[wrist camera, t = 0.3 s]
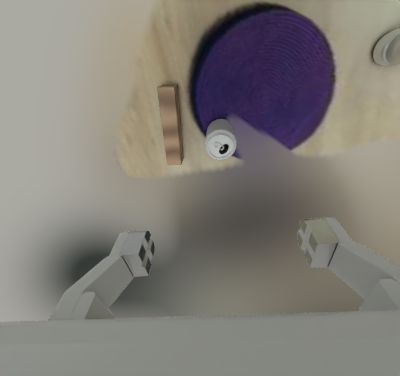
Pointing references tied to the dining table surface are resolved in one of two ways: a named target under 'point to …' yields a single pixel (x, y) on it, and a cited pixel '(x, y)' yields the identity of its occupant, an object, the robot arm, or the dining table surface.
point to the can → (220, 139)
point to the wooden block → (171, 123)
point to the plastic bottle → (388, 49)
